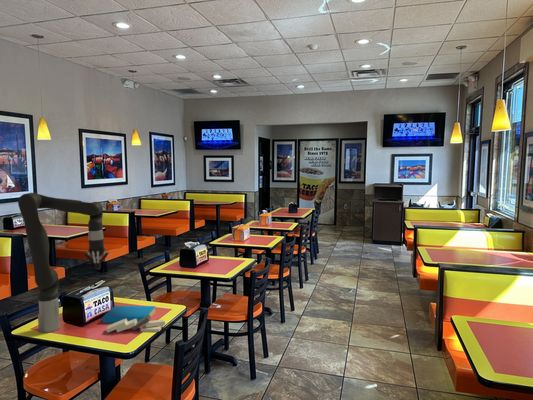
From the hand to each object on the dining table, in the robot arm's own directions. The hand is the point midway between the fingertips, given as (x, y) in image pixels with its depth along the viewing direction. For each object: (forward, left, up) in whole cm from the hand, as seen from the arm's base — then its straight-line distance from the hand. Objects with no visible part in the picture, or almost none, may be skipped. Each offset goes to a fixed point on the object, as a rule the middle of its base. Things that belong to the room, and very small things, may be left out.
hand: (97, 269), depth 205 cm
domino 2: (+12, -8, -31) cm, 34 cm away
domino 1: (+7, -9, -31) cm, 33 cm away
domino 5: (+25, -9, -32) cm, 41 cm away
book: (+13, +10, -33) cm, 37 cm away
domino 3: (+20, -7, -31) cm, 38 cm away
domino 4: (+26, -8, -29) cm, 40 cm away
